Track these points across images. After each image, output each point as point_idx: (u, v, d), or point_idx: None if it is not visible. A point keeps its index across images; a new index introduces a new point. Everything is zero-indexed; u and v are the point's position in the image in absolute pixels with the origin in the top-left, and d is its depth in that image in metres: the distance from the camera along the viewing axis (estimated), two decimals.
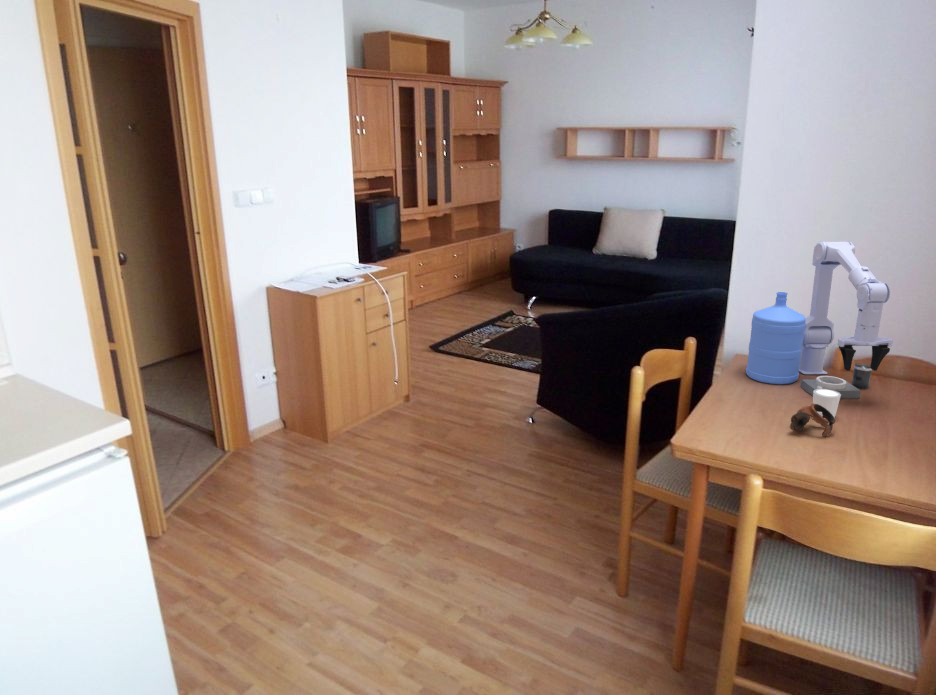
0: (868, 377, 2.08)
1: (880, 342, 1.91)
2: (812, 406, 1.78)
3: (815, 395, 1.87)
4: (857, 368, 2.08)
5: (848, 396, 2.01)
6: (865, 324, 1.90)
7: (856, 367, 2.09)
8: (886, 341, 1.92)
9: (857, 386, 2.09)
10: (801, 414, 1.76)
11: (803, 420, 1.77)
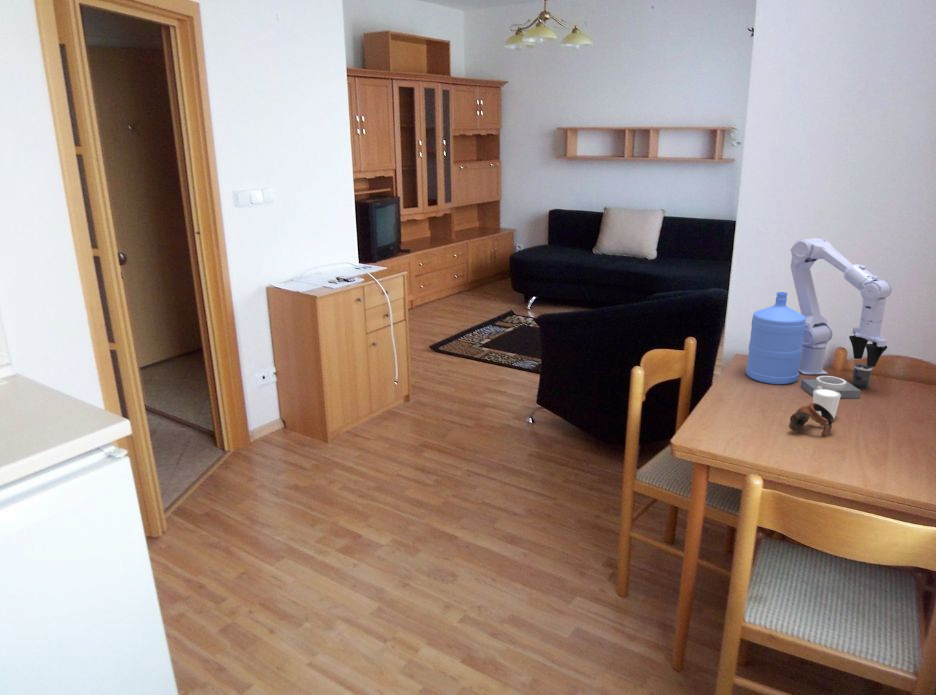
0: (868, 377, 2.08)
1: (867, 337, 2.03)
2: (811, 405, 1.78)
3: (815, 395, 1.87)
4: (857, 368, 2.08)
5: (848, 396, 2.01)
6: (874, 320, 2.02)
7: (856, 367, 2.09)
8: (874, 339, 2.01)
9: (857, 386, 2.09)
10: (800, 414, 1.76)
11: (802, 419, 1.77)
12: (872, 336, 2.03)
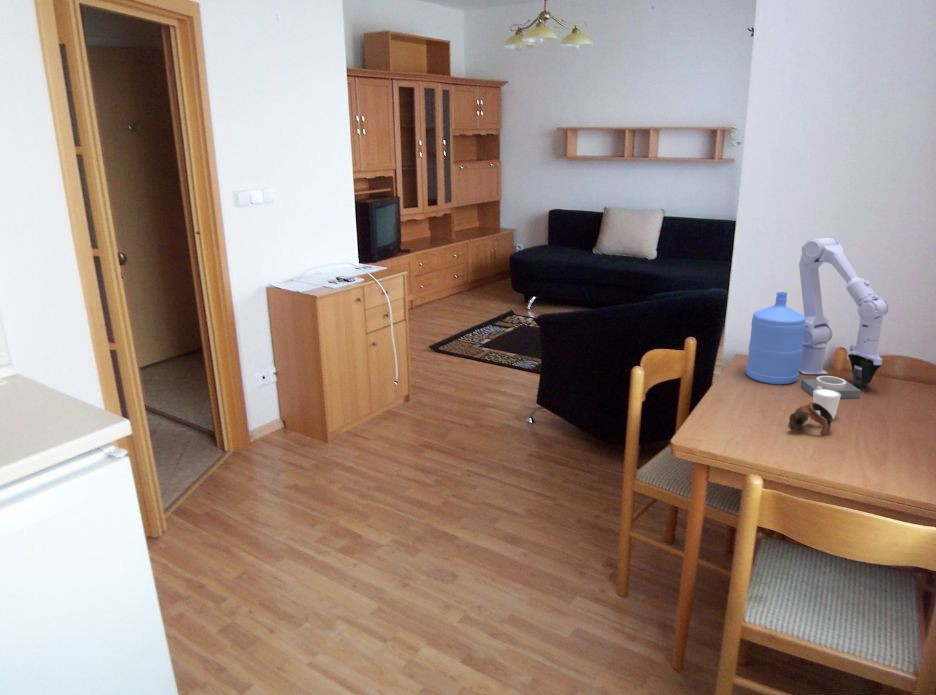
0: None
1: (864, 356, 2.05)
2: (810, 405, 1.79)
3: (815, 395, 1.87)
4: (857, 368, 2.08)
5: (848, 396, 2.01)
6: (871, 338, 2.04)
7: (856, 367, 2.09)
8: (871, 358, 2.03)
9: (857, 386, 2.09)
10: (799, 413, 1.77)
11: (801, 419, 1.77)
12: (869, 354, 2.05)
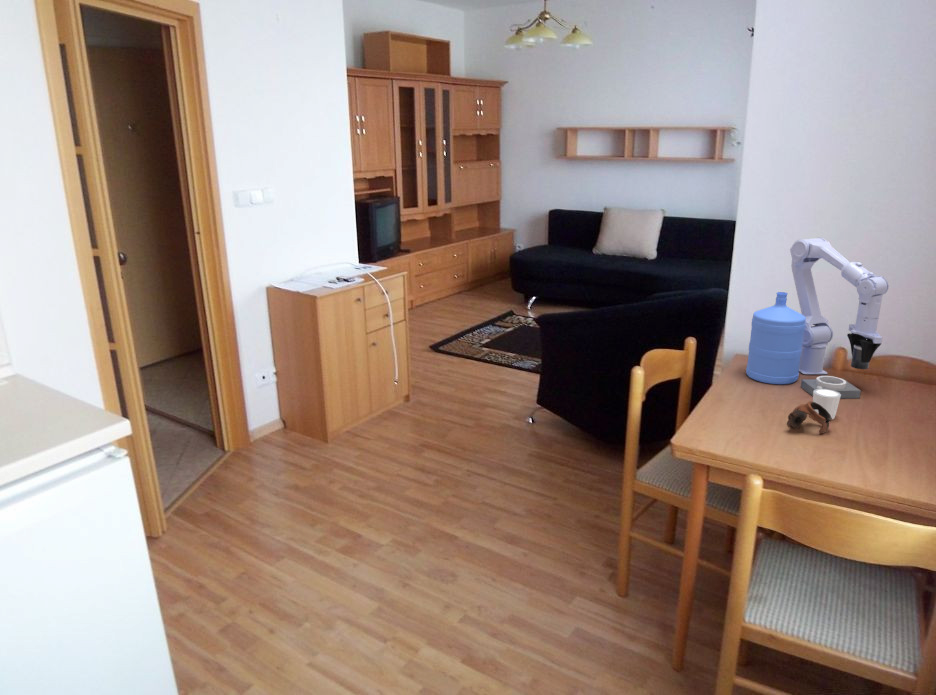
0: None
1: (864, 334, 2.02)
2: (809, 404, 1.79)
3: (815, 395, 1.87)
4: (857, 348, 2.06)
5: (848, 396, 2.01)
6: (869, 316, 2.01)
7: (856, 347, 2.06)
8: (870, 336, 2.00)
9: (857, 366, 2.07)
10: (798, 412, 1.77)
11: (800, 418, 1.78)
12: (868, 333, 2.02)
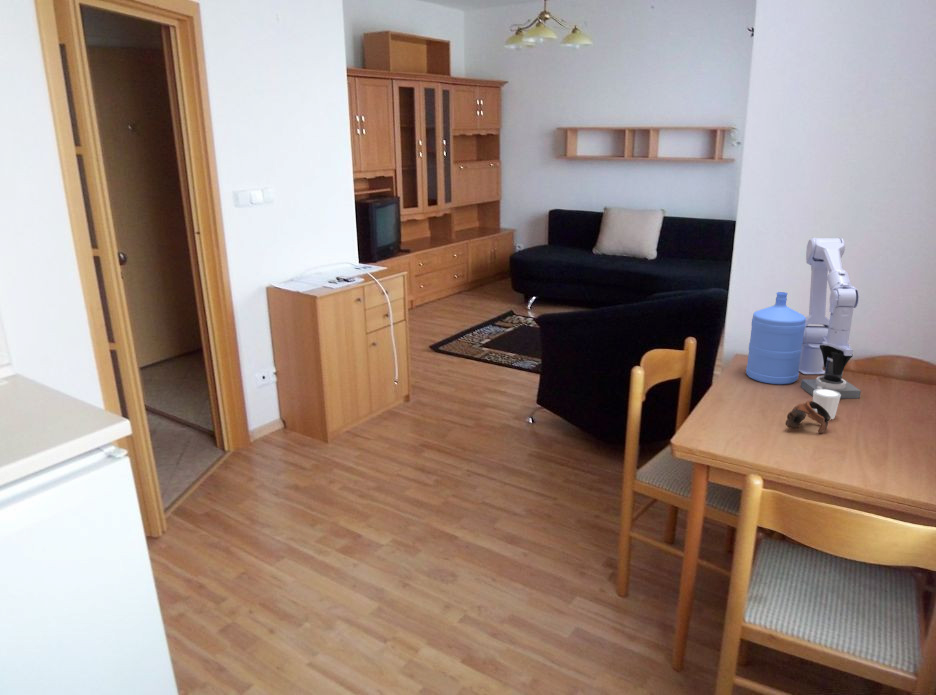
0: None
1: (835, 346, 1.99)
2: (808, 403, 1.80)
3: (815, 395, 1.87)
4: (830, 360, 2.02)
5: (848, 396, 2.01)
6: (834, 327, 1.99)
7: (829, 359, 2.03)
8: (841, 348, 1.97)
9: (830, 378, 2.03)
10: (797, 411, 1.78)
11: (799, 417, 1.78)
12: (840, 345, 1.99)
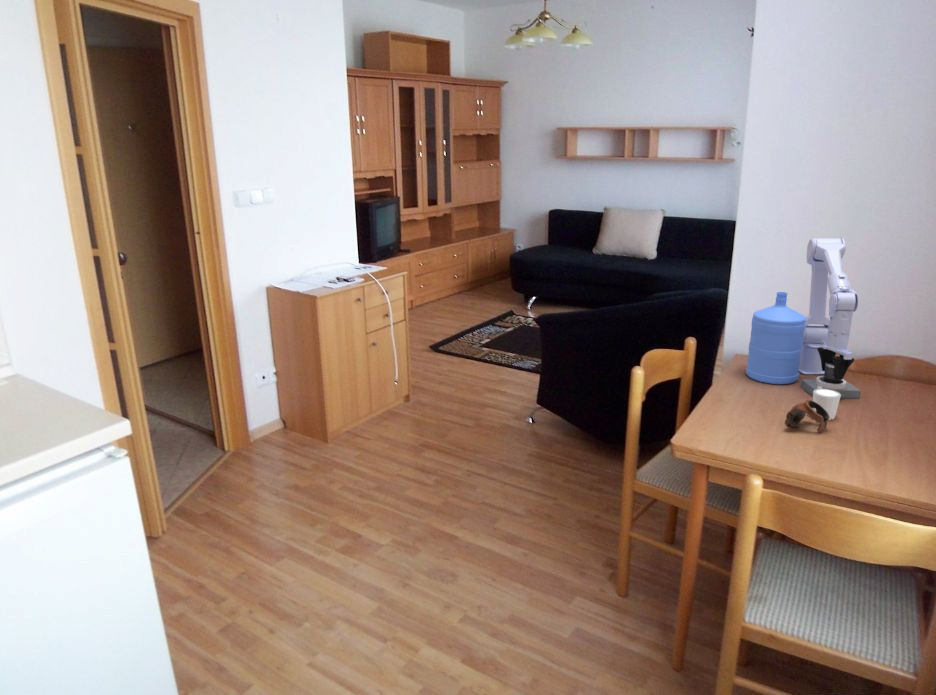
0: None
1: (834, 350, 1.99)
2: (807, 403, 1.80)
3: (815, 395, 1.87)
4: (828, 366, 2.03)
5: (848, 396, 2.01)
6: (834, 331, 1.99)
7: (827, 365, 2.03)
8: (841, 352, 1.97)
9: None
10: (796, 411, 1.78)
11: (798, 417, 1.79)
12: (839, 348, 1.99)
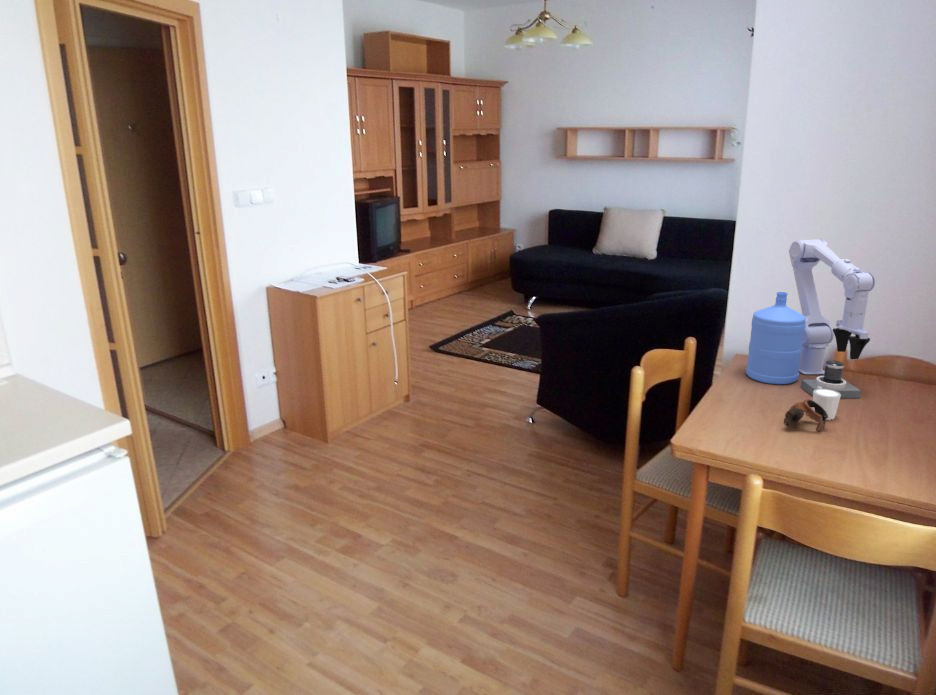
0: (840, 374, 2.02)
1: (850, 330, 2.02)
2: (805, 402, 1.81)
3: (815, 395, 1.87)
4: (829, 366, 2.03)
5: (848, 396, 2.01)
6: (854, 312, 2.01)
7: (827, 365, 2.03)
8: (857, 331, 2.00)
9: None
10: (795, 410, 1.79)
11: (797, 416, 1.79)
12: (855, 328, 2.02)
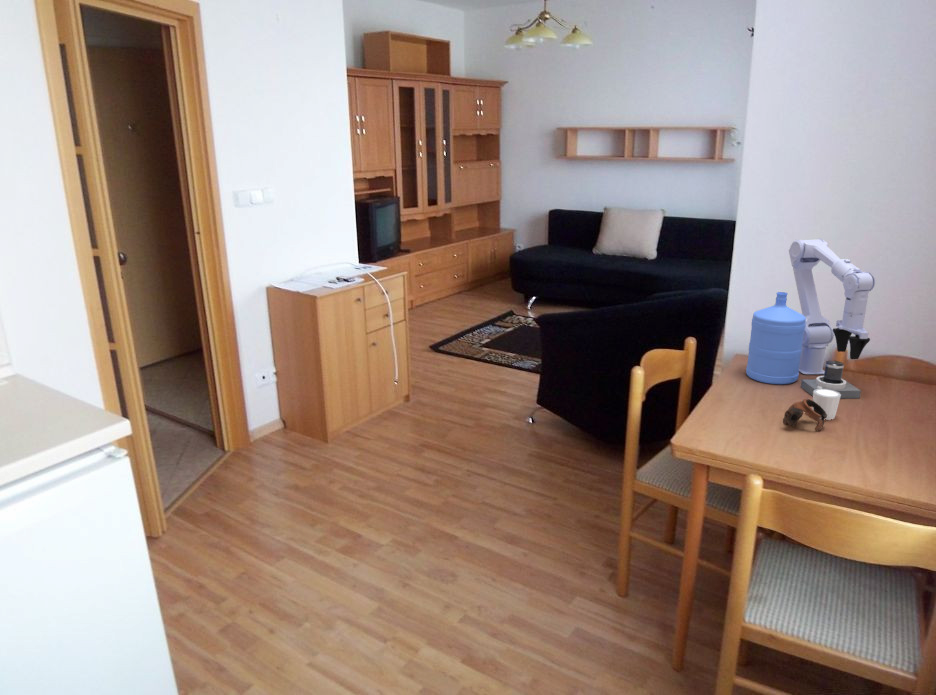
0: (840, 374, 2.02)
1: (850, 330, 2.02)
2: (804, 401, 1.81)
3: (815, 395, 1.87)
4: (828, 366, 2.03)
5: (848, 396, 2.01)
6: (854, 312, 2.01)
7: (827, 365, 2.03)
8: (857, 331, 2.00)
9: None
10: (794, 409, 1.79)
11: (796, 415, 1.80)
12: (855, 328, 2.02)
